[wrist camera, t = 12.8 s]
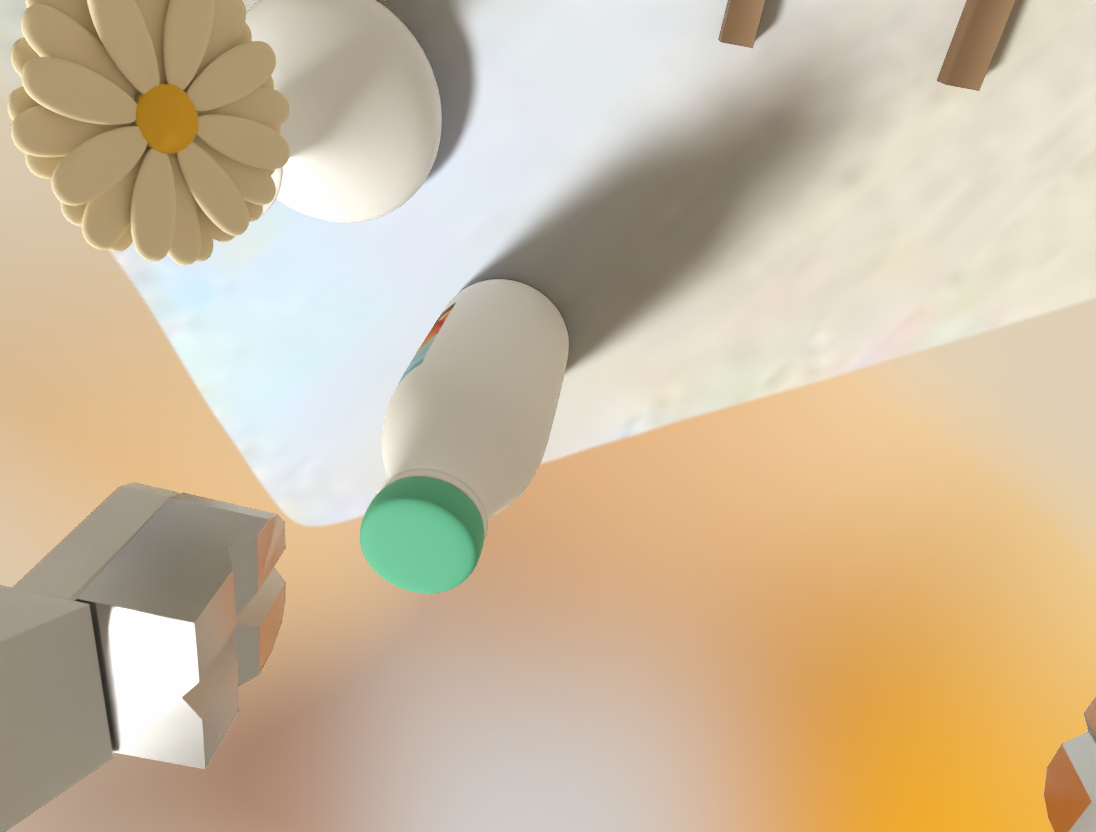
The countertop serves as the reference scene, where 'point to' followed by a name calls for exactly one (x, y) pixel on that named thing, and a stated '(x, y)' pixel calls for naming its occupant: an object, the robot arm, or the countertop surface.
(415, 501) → the milk bottle
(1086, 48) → the countertop surface
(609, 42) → the countertop surface
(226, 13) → the flower in vase
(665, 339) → the countertop surface
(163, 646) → the robot arm
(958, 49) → the beam slot
